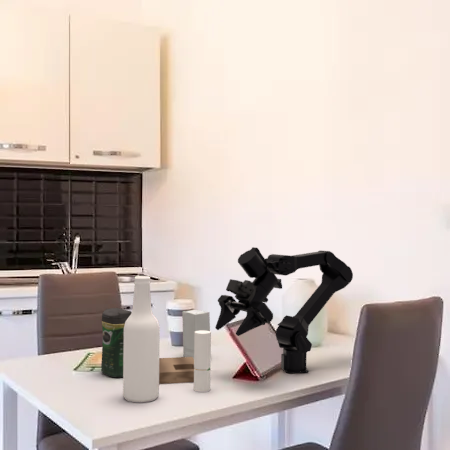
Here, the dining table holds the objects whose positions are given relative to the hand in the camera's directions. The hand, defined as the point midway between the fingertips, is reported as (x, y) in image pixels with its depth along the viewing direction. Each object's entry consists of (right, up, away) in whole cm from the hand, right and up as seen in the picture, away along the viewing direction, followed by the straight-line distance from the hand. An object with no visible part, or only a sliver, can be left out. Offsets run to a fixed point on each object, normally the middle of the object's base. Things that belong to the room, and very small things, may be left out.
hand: (226, 331), depth 157 cm
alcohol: (-21, -14, -12) cm, 28 cm away
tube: (-6, -14, -5) cm, 16 cm away
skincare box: (-10, -14, +29) cm, 34 cm away
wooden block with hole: (-15, -14, +8) cm, 22 cm away
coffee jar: (-31, -14, +9) cm, 35 cm away
